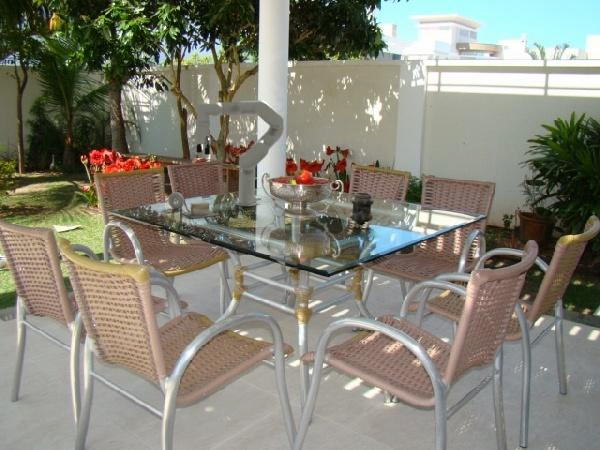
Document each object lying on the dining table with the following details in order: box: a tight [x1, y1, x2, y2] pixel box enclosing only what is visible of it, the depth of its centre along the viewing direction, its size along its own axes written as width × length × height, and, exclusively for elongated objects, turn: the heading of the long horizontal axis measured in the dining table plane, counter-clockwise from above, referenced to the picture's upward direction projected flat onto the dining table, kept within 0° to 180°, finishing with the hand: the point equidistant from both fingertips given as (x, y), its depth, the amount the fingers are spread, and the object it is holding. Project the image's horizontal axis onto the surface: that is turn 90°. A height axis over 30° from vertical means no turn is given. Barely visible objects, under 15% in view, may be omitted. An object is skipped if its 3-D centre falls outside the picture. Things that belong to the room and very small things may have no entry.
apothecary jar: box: [349, 191, 374, 225], centre depth 294 cm, size 12×12×18 cm
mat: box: [180, 210, 220, 220], centre depth 307 cm, size 16×14×1 cm
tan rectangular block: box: [190, 201, 210, 215], centre depth 307 cm, size 4×9×6 cm, turn 128°
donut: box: [168, 191, 185, 210], centre depth 318 cm, size 10×3×10 cm, turn 67°
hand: (203, 153), depth 330 cm, fingers open, 9 cm apart
